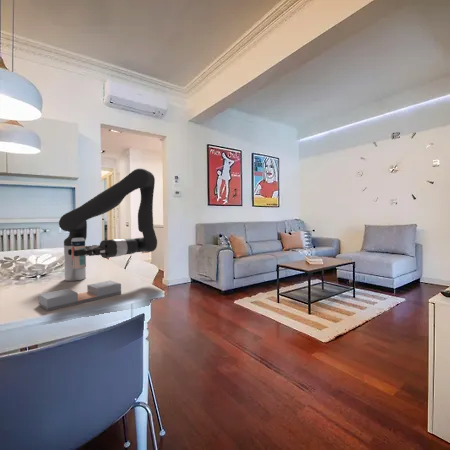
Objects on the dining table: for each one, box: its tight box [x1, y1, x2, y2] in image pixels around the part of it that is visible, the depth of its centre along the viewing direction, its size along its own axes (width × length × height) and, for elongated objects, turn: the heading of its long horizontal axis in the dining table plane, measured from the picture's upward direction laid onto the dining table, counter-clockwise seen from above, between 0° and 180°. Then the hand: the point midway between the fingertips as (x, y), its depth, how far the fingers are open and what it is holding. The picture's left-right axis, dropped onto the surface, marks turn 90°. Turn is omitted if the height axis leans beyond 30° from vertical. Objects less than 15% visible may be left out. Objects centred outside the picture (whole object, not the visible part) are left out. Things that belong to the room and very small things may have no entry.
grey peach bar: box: [38, 280, 122, 312], centre depth 102 cm, size 9×26×4 cm, turn 139°
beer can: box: [71, 238, 87, 270], centre depth 105 cm, size 5×5×12 cm
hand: (71, 252), depth 103 cm, fingers closed on beer can, 4 cm apart
